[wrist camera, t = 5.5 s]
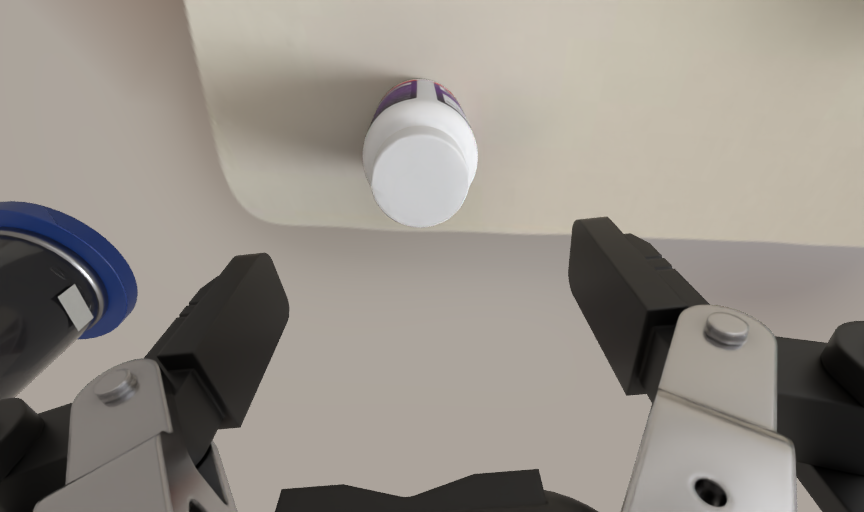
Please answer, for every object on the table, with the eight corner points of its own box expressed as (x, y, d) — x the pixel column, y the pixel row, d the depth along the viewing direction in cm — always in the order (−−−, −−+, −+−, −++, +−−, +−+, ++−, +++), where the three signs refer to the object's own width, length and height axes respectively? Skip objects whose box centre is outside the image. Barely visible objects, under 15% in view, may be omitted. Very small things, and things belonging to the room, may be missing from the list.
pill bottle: (375, 164, 25) (353, 238, 17) (376, 73, 22) (349, 107, 14) (458, 170, 25) (476, 246, 17) (469, 81, 22) (498, 120, 14)
